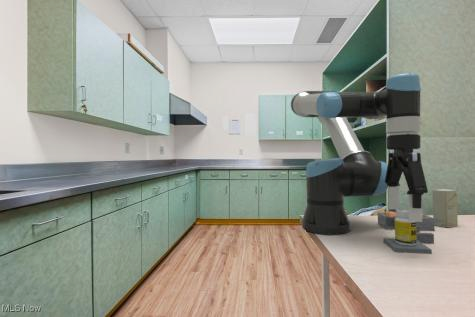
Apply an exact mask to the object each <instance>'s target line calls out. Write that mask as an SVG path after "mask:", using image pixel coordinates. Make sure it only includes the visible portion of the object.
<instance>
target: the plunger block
mask: <svg viewBox="0 0 475 317" xmlns="http://www.w3.org/2000/svg"><path fill="white" fill-rule="evenodd" d="M386 212H387V211H385V212H383V211H382V212H381V211H378V212H377V224H378V225H379V226H380V227H382V228H383V229H384V230H392V229H394V231H395V218H396V217H397V216H386ZM416 226H419V227H420V231H423V232H435V231H436V230H435V228H436V226H435V225H434V218H433V217H432V216H430V215H427V214H426V213H423V217H422V222H416Z"/></svg>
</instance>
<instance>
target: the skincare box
mask: <svg viewBox="0 0 475 317" xmlns="http://www.w3.org/2000/svg"><path fill="white" fill-rule="evenodd" d="M431 193H432V216H433V217H432V218H434V226H435V227H436V226H437V227H442V228H452V227H458V226H459V222H458V200H457V199H458V198H457V190H456V189H448V188H447V189H445V188H443V189H441V188H439V189H432V191H431Z"/></svg>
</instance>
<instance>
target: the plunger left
mask: <svg viewBox="0 0 475 317" xmlns="http://www.w3.org/2000/svg"><path fill="white" fill-rule="evenodd" d="M385 212H386V216H396V211H387V210H386V211H385Z"/></svg>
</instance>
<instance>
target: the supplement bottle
mask: <svg viewBox="0 0 475 317" xmlns="http://www.w3.org/2000/svg"><path fill="white" fill-rule="evenodd" d="M395 212H396V216H397V217H396V218H395V230H394V239H395V242H396V243H398V244H401V245H406V246H415V245H416V244H417V235H416V222H410V221H408V209H399V210H396V209H395Z"/></svg>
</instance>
